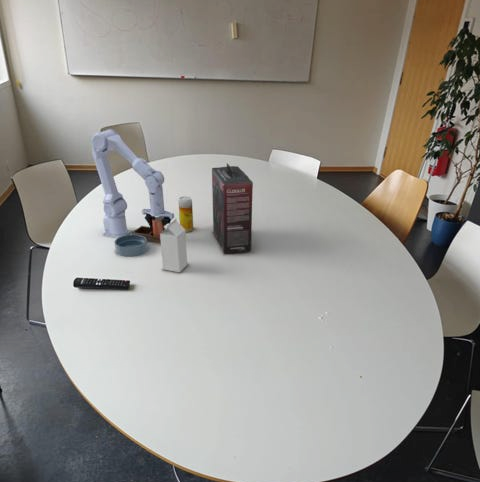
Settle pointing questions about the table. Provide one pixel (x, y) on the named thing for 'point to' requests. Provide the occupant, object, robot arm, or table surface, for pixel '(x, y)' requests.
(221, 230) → the headset box
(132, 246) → the bowl
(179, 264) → the milk carton
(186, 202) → the beer can
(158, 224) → the cup
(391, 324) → the table surface
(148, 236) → the box
